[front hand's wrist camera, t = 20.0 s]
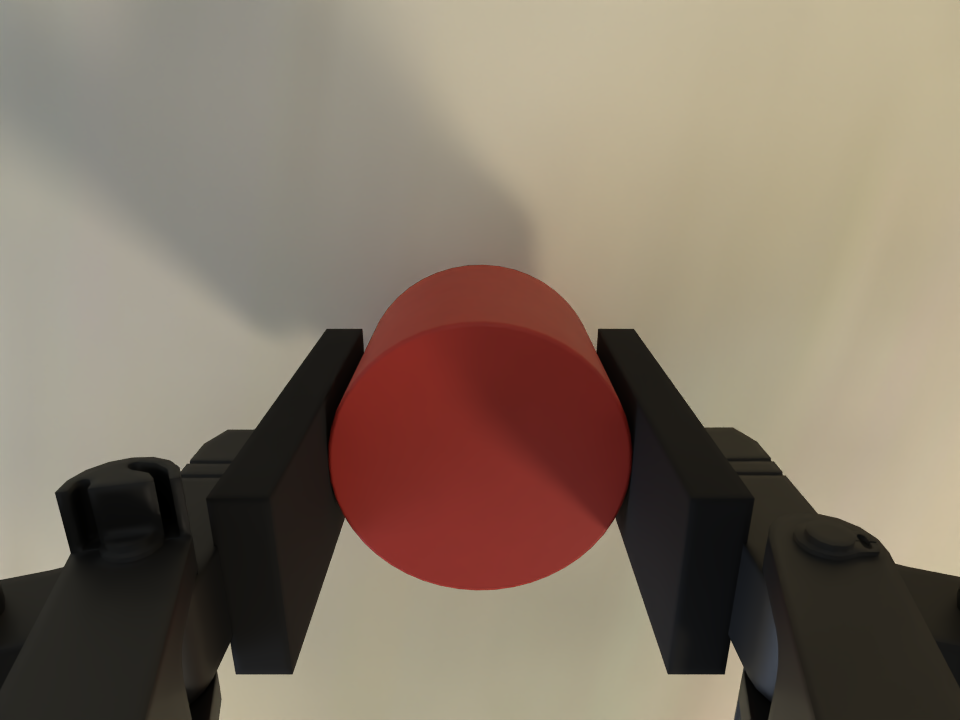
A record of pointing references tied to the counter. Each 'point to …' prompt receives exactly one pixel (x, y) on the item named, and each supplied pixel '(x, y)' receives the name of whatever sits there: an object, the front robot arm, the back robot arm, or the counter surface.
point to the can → (480, 433)
